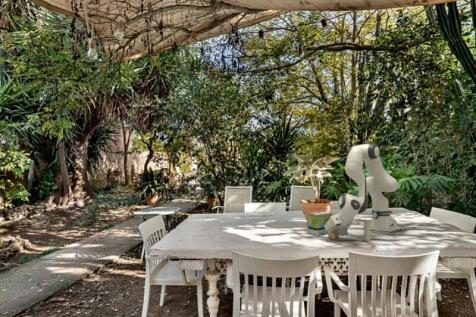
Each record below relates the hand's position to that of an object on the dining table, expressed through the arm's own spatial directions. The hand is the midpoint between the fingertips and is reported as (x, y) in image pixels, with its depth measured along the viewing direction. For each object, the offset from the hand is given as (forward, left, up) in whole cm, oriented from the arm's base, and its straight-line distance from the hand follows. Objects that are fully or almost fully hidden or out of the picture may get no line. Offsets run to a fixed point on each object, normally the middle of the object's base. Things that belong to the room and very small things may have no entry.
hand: (332, 231), depth 248 cm
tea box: (-2, -16, -5) cm, 17 cm away
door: (-7, -3, -4) cm, 9 cm away
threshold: (-15, +6, -4) cm, 16 cm away
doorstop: (0, +1, -4) cm, 4 cm away
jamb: (-15, +16, -4) cm, 22 cm away
